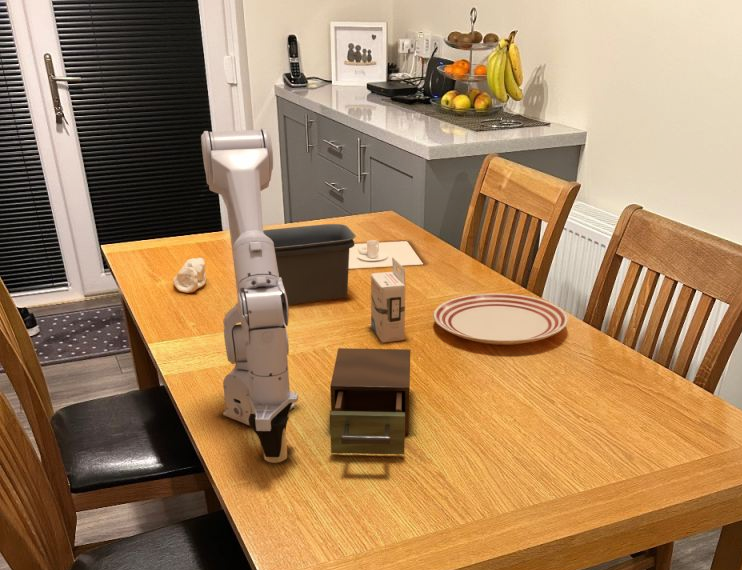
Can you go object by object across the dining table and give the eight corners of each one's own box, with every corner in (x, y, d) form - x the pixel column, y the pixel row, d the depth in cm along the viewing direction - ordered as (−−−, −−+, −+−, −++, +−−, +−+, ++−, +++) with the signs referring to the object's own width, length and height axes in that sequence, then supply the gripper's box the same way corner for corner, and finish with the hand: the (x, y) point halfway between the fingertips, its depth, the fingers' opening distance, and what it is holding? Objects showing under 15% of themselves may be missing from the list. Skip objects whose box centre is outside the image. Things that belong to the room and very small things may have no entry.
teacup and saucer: (354, 252, 208) (354, 237, 206) (384, 251, 210) (384, 235, 207) (359, 263, 201) (359, 247, 199) (390, 261, 202) (390, 245, 200)
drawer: (403, 471, 117) (404, 431, 114) (328, 469, 118) (326, 430, 114) (405, 412, 133) (406, 376, 129) (338, 411, 133) (337, 375, 130)
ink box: (369, 327, 166) (369, 258, 158) (392, 325, 167) (393, 255, 159) (381, 343, 159) (382, 271, 151) (405, 340, 160) (406, 269, 152)
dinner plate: (405, 325, 167) (406, 310, 165) (495, 295, 182) (497, 281, 180) (502, 368, 149) (504, 352, 147) (593, 332, 164) (596, 316, 162)
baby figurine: (193, 275, 194) (210, 248, 190) (207, 308, 188) (225, 281, 183) (161, 266, 188) (177, 238, 183) (175, 300, 182) (192, 271, 177)
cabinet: (408, 433, 128) (409, 387, 124) (332, 432, 129) (330, 385, 124) (409, 393, 141) (410, 349, 136) (339, 391, 141) (338, 348, 137)
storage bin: (265, 312, 173) (260, 247, 165) (254, 289, 185) (248, 227, 178) (360, 302, 178) (359, 238, 170) (343, 280, 191) (341, 219, 183)
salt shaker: (276, 465, 120) (273, 433, 117) (258, 457, 122) (255, 426, 119) (292, 455, 123) (290, 424, 120) (274, 448, 125) (272, 417, 122)
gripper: (288, 391, 108) (294, 475, 115) (302, 347, 120) (306, 426, 128) (237, 390, 108) (246, 474, 116) (255, 347, 121) (262, 425, 128)
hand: (274, 448), depth 122 cm, fingers closed on salt shaker, 3 cm apart
